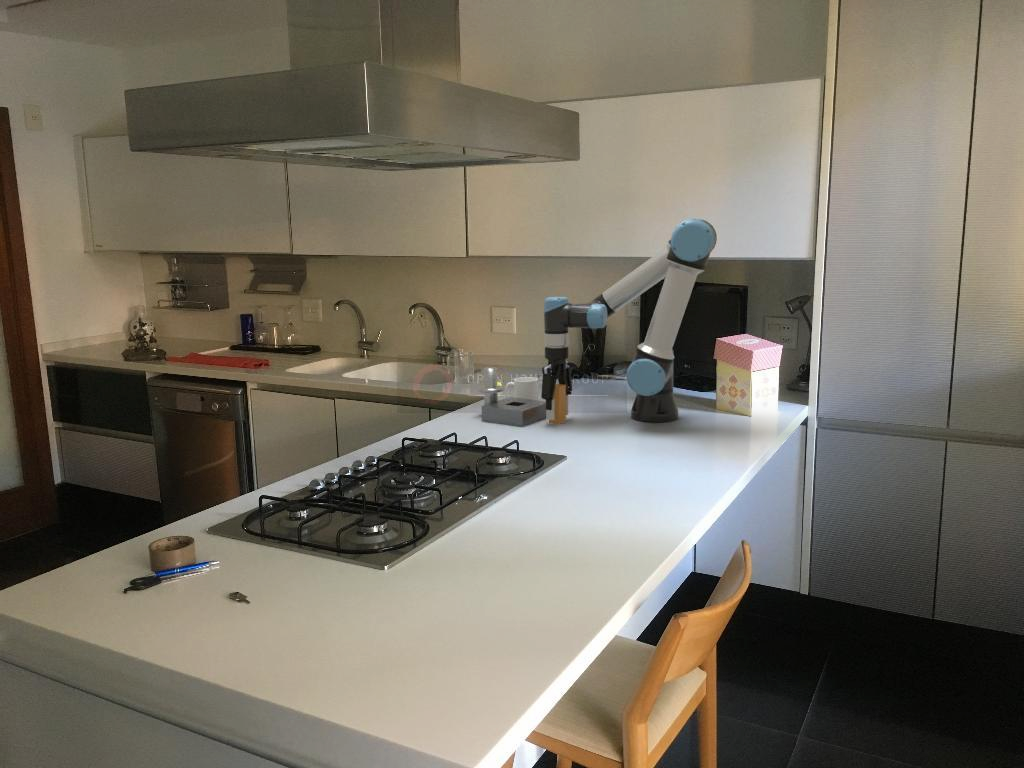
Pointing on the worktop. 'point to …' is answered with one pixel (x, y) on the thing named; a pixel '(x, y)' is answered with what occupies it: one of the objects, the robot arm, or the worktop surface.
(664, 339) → the robot arm
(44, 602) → the worktop surface
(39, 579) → the worktop surface
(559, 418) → the tall orange block
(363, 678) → the worktop surface
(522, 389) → the cup
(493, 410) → the grey peg stand
